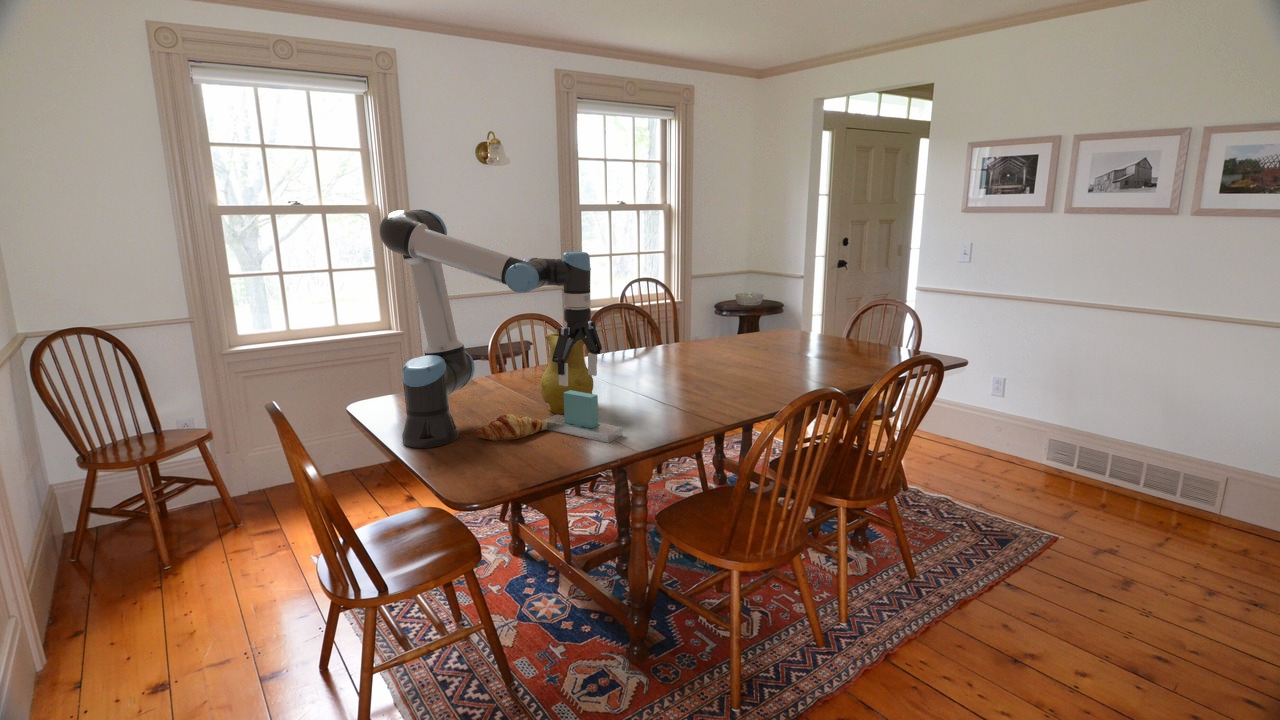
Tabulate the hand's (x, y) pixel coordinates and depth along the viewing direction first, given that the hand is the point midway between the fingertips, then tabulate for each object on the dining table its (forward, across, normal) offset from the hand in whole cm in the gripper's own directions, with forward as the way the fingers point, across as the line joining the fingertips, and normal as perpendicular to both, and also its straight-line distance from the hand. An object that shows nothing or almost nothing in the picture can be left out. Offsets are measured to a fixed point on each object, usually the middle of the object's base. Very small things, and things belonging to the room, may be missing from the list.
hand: (578, 380), depth 188 cm
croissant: (+17, -12, +15) cm, 25 cm away
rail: (+16, 0, -1) cm, 16 cm away
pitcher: (+16, +17, +17) cm, 29 cm away
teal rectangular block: (+16, 0, -1) cm, 16 cm away
